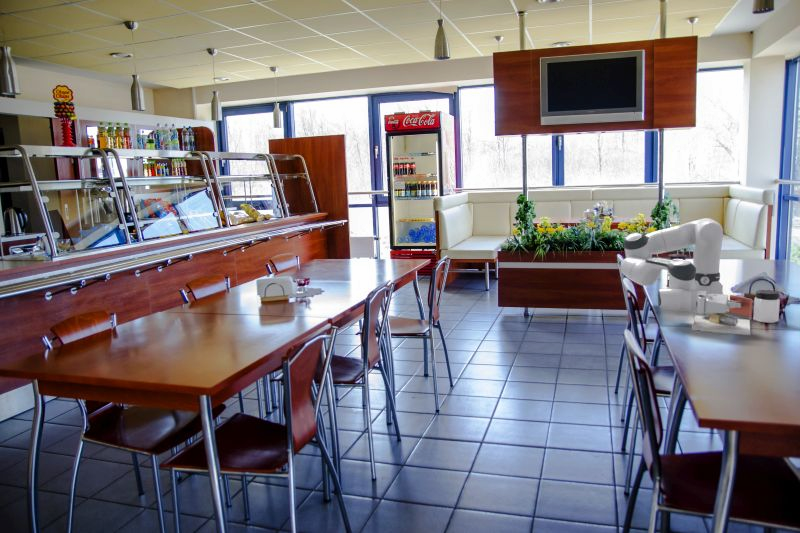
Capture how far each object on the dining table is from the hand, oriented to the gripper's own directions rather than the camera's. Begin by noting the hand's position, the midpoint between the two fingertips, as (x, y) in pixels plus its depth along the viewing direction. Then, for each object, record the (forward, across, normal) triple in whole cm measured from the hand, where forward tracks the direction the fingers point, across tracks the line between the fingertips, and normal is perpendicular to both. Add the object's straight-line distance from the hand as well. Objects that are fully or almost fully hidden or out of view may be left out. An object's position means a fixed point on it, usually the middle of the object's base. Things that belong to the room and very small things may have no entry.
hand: (740, 304), depth 241 cm
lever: (-3, -5, -6) cm, 8 cm away
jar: (+9, -23, -10) cm, 27 cm away
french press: (-31, -88, -11) cm, 94 cm away
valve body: (-8, -9, -10) cm, 15 cm away
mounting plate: (-6, -6, -10) cm, 13 cm away
